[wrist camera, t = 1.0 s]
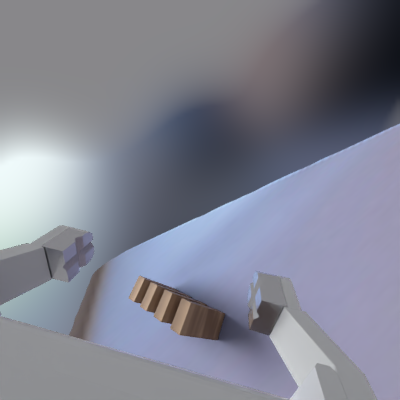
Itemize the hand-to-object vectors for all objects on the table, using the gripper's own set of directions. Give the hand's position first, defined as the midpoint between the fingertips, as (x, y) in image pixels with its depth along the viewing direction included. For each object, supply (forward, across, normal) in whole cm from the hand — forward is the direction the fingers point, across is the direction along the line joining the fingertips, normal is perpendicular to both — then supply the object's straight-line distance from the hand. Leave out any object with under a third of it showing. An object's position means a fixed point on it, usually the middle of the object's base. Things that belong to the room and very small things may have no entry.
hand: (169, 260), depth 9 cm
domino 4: (+20, -7, +33) cm, 39 cm away
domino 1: (+27, +5, +39) cm, 48 cm away
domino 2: (+25, +1, +37) cm, 45 cm away
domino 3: (+22, -3, +35) cm, 42 cm away
